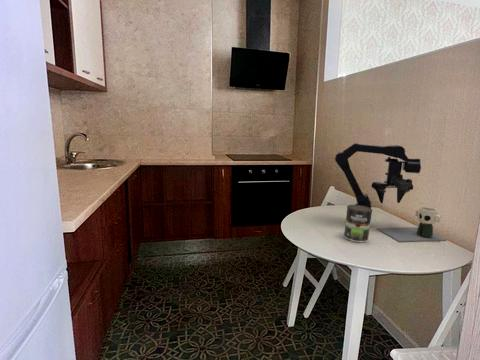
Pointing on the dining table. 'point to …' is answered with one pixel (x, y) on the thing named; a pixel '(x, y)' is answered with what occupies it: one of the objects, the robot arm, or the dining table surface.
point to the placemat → (408, 235)
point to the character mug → (427, 220)
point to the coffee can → (357, 223)
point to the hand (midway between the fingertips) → (389, 203)
